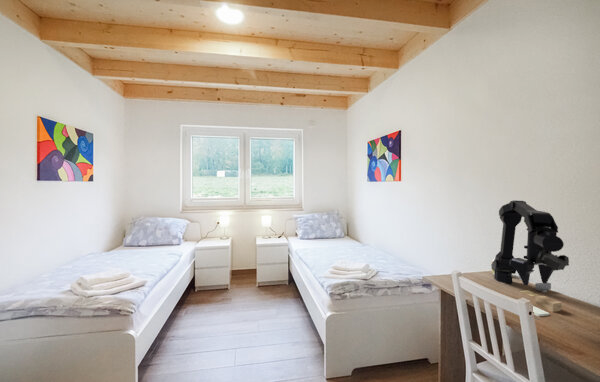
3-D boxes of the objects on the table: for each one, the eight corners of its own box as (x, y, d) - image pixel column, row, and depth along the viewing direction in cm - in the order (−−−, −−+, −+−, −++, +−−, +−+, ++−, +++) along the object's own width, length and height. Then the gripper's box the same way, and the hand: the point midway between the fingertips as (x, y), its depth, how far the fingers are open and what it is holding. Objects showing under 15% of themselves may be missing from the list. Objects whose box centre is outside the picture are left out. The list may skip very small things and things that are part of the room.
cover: (519, 311, 101) (519, 305, 101) (529, 310, 102) (529, 304, 102) (538, 320, 94) (538, 314, 94) (548, 319, 96) (549, 313, 95)
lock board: (507, 295, 114) (507, 285, 114) (529, 292, 117) (530, 283, 117) (551, 315, 98) (552, 303, 97) (576, 311, 100) (576, 300, 100)
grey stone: (544, 291, 118) (545, 281, 118) (552, 294, 115) (552, 284, 115) (533, 293, 117) (533, 282, 116) (540, 295, 114) (540, 285, 114)
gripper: (542, 252, 87) (540, 295, 88) (582, 249, 91) (579, 291, 92) (509, 243, 98) (507, 282, 99) (546, 241, 102) (544, 279, 103)
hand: (535, 284), depth 98 cm, fingers open, 9 cm apart
